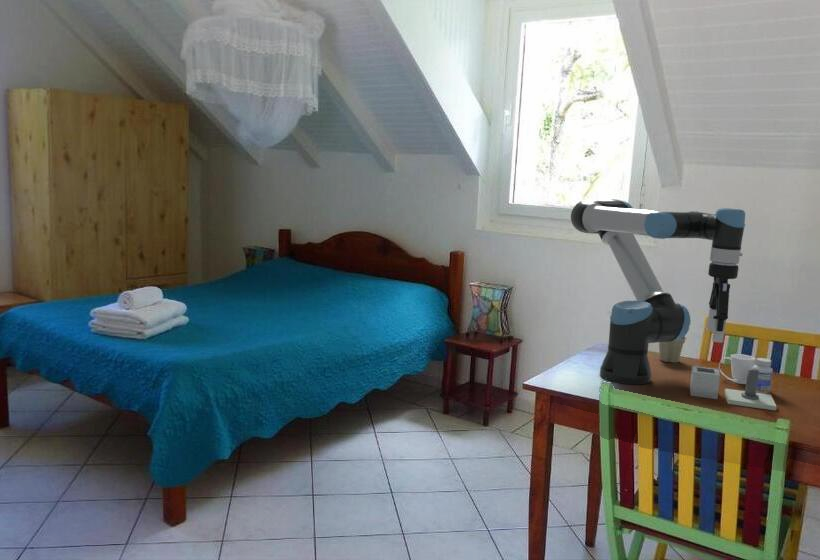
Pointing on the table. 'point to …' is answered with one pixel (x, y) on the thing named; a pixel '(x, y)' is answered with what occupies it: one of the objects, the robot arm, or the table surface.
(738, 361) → the cup
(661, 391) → the table surface
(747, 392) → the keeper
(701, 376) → the hollow grey square tube
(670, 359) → the flower pot
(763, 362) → the pill bottle
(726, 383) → the table surface
